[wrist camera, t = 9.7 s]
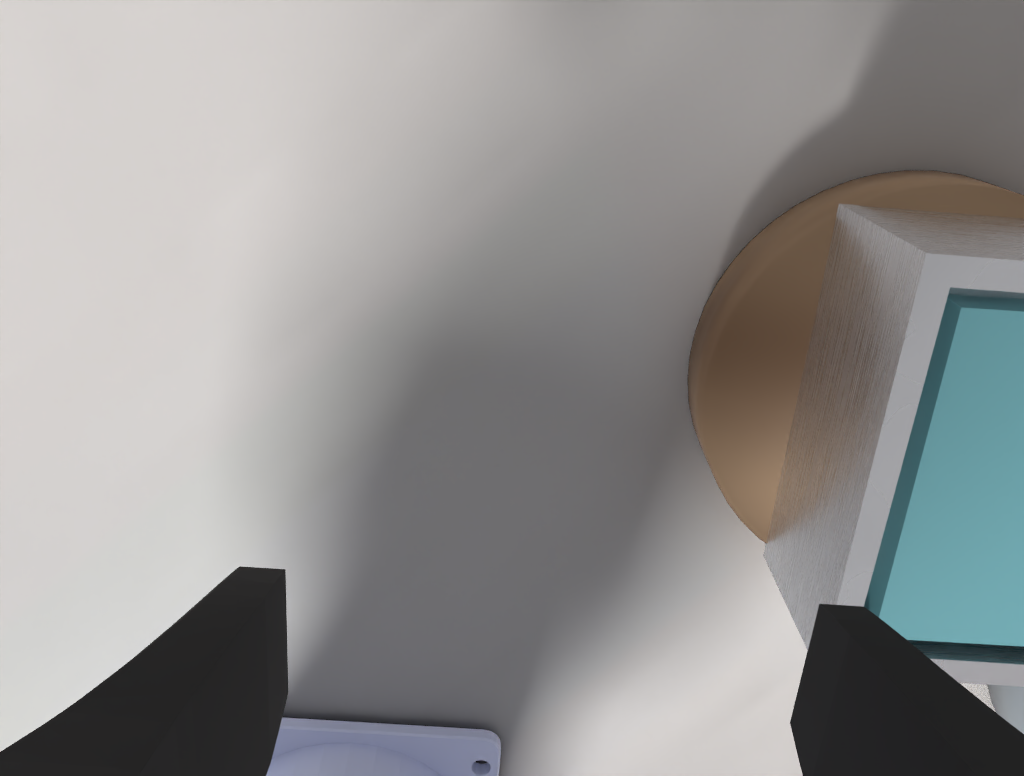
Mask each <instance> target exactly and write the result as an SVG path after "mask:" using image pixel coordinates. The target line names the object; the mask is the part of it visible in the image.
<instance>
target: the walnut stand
mask: <svg viewBox="0 0 1024 776" xmlns="http://www.w3.org/2000/svg"><path fill="white" fill-rule="evenodd" d="M839 204H850V205H861V206H873V207H886V208H899V209H911V210H924V211H936V212H949V213H961V214H974V215H987V216H999V217H1012V218H1024V195H1021V194H1018V193H1015V192H1012V191H1009V190H1007V189H1004V188H1001V187H998V186H995V185H992V184H989V183H987V182H983V181H980V180H977V179H973V178H970V177H967V176H963V175H959V174H952V173H945V172H939V171H907V170H906V171H897V172H889V173H881V174H875V175H871V176H867V177H863V178H859V179H855V180H851V181H848V182H845V183H843V184H840V185H838V186H835V187H832V188H830V189H827V190H825V191H822V192H820V193H818V194H816V195H815V196H813V197H811V198H809V199H807V200H805V201H803V202H801V203H799V204H798V205H796V206H794V207H793V208H792V209H790V210H789V211H787V212H786V213H784V214H783V215H781V216H780V217H778V218H777V219H776V220H774V221H773V222H772V223H770V224H769V225H768V226H767V227H766V228H765V229H764V230H762V231H761V232H760V233H759V234H758V235H757V236H756V237H755V238H753V239H752V240H751V241H750V242H749V243H748V245H747V246H746V247H745V248H744V249H743V250H742V251H741V252H740V253H739V255H738V256H737V257H736V258H735V259H734V260H733V261H732V263H731V264H730V266H729V267H728V268H727V270H726V271H725V273H724V274H723V276H722V277H721V278H720V280H719V281H718V283H717V284H716V286H715V288H714V290H713V292H712V294H711V296H710V298H709V299H708V301H707V303H706V305H705V307H704V310H703V312H702V315H701V318H700V320H699V323H698V326H697V328H696V331H695V335H694V339H693V344H692V348H691V352H690V358H689V369H688V397H689V407H690V412H691V417H692V422H693V426H694V429H695V432H696V434H697V437H698V440H699V443H700V445H701V448H702V450H703V452H704V455H705V457H706V459H707V462H708V464H709V466H710V468H711V471H712V473H713V475H714V478H715V480H716V482H717V484H718V486H719V488H720V490H721V491H722V493H723V495H724V497H725V499H726V501H727V503H728V504H729V505H730V507H731V508H732V509H733V511H734V512H735V513H736V515H737V516H738V517H739V519H740V520H741V521H742V522H743V523H744V524H745V525H746V526H747V527H748V528H749V529H750V530H751V531H752V532H753V533H754V534H755V535H756V536H757V537H758V538H759V539H761V540H762V541H764V542H765V543H766V542H767V537H768V533H769V528H770V523H771V519H772V514H773V509H774V505H775V500H776V495H777V491H778V486H779V481H780V477H781V472H782V467H783V463H784V458H785V454H786V449H787V444H788V440H789V435H790V430H791V426H792V421H793V416H794V412H795V407H796V402H797V398H798V393H799V388H800V384H801V379H802V374H803V370H804V365H805V361H806V356H807V351H808V347H809V342H810V337H811V333H812V328H813V323H814V319H815V314H816V309H817V305H818V300H819V295H820V291H821V286H822V282H823V277H824V272H825V268H826V263H827V258H828V254H829V249H830V244H831V240H832V235H833V230H834V226H835V221H836V215H837V210H838V205H839Z"/></svg>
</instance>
